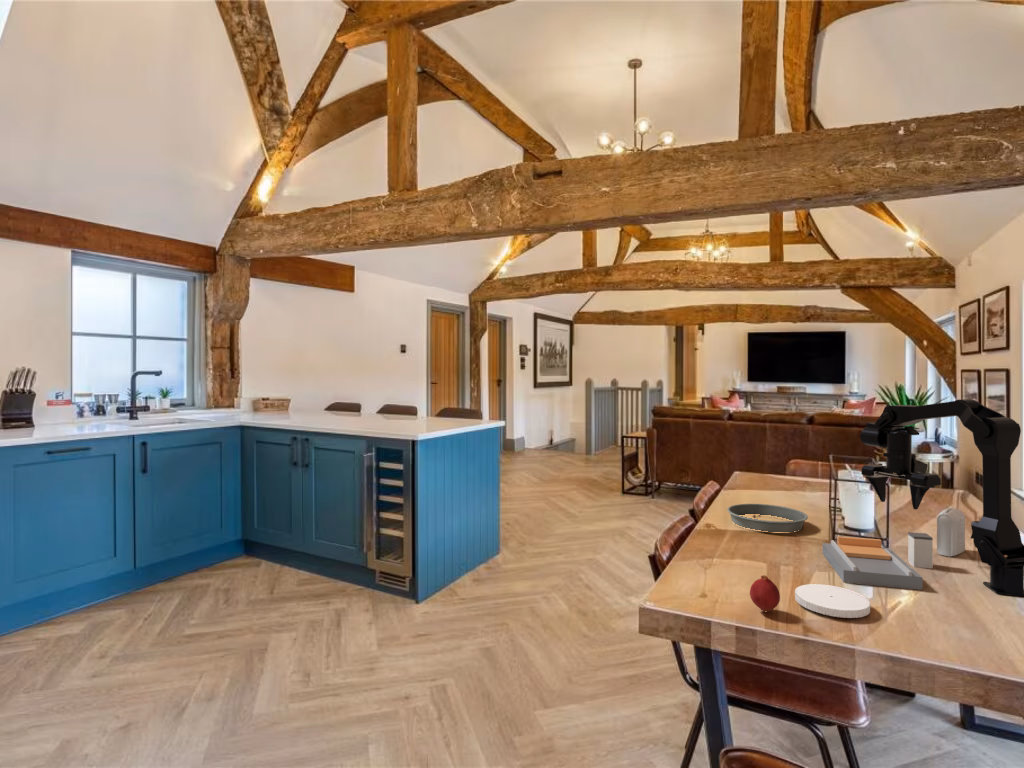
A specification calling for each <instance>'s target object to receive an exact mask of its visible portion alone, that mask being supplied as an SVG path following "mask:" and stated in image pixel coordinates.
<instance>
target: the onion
mask: <svg viewBox="0 0 1024 768" xmlns="http://www.w3.org/2000/svg"><path fill="white" fill-rule="evenodd" d="M749 597H750V599H751V601H752V603H753V604H754V605H755V606H756V607H757V608H759V610H760V611H761V610H763V611H768V612H770V611H772V610H774V609H775V608H776V607H778V605H779V603H780V601H781V594H780V590H779V588H778V587H777V585H776V584H775V583H774V582H773V581H772V580H771V579H770V578H769V577H768V576H767V575H766V574H761V576H760V578H758V579H756V580H754V581H753V583H752V584H751V586H750V589H749ZM763 611H762V612H763Z"/></svg>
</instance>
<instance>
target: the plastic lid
mask: <svg viewBox="0 0 1024 768" xmlns="http://www.w3.org/2000/svg"><path fill="white" fill-rule="evenodd" d="M794 599H795V602H796V603H798V604H799V605H800V606H801V607H803V608H805V609H807V610H810V611H813V612H816V613H819V614H822V615H824V616H825V615H826V616H830V617H836V618H844V619H845V618H847V619H852V618H853V619H855V618H856V619H858V618H863V617H866V616H868V615H870V613H871V601H870V600H869V599H868V598H867V597H866V596H865V595H862V594H860V593H858V592H856V591H853V590H850V589H848V588H843V587H841V586H836V585H829V584H822V583H821V584H820V583H816V584H815V583H813V584H812V583H811V584H810V583H808V584H807V583H806V584H802V585H800V586H797V587H796V588H795V589H794Z"/></svg>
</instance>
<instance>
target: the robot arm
mask: <svg viewBox="0 0 1024 768" xmlns="http://www.w3.org/2000/svg"><path fill="white" fill-rule="evenodd" d="M952 417H958V419H960V421H961V424H962V426H963V427H964V428H966V429H967V430H969V431H970V432H971V433H972V437H973V441H974V442H973V443H974V445H975V446H976V448H977V449H978V451H979V453H981V457H982V461H981V462H982V516H981V517H980V519H979V520H973V521H971V523H970V526H971V536H970V539H971V540H972V539H973V545H974V547H975V548H976V550H977V553H978V556H979V558H980V561H981V563H984V564H987V565H988V566H989V567H990V568H989V571H990V572H989V581H982V584H983V585H984V586H985V587H987V588H988V589H989V590H991V591H993V592H994V593H995V594H998V595H1003V596H1004V595H1006V596H1014V597H1015V596H1016V597H1024V543H1023V542H1022V536H1021V531H1020V529H1019V528H1018V526H1017V525H1016V523H1015V522H1014V520H1013V519H1012V470H1011V468H1012V467H1011V464H1012V463H1011V462H1012V459H1011V458H1012V455H1014V452H1015V451H1016V449H1017V447H1018V446H1019V443H1020V437H1021V433H1022V430H1021V426H1020V424H1019V423H1018V422H1017V421H1015V420H1014V419H1013V418H1011V417H1008V416H1007V417H1006V416H1005V415H1003V414H1002V413H1000V412H998V411H996V410H994V409H992V408H990V407H987V406H984V405H983V404H982V403H981V402H980V401H977V400H975V399H971V398H968V399H966V398H965V399H963V398H962V399H955V400H953V401H946V402H945V401H944V402H938V403H932V404H922V405H913V404H912V405H911V404H900V405H899V404H898V405H897V404H895V405H887V406H885V407H884V408H883V410H882V413H881V414H880V415H879V417H878V418H877V420H876V422H866V424H865V427H864V428H863V429H862V430H861V432H860V434H859V438H860V441H861V442H862V444H864V445H865V446H868V447H869V446H870V447H878V448H884V449H886V452H883V453H882V457H885V458H886V465H882V464H875V463H874V464H864V465H863V466H862V467H861V468H860V469H861V474H860V475H862V476H865V477H864V478H865V479H867V480H868V481H869V483H870V484H871V486H872V487H873V489H874V491H875V493H876V494H877V496H878V498H879V500H880V502H882V503H885V502H886V497H887V495H886V494H887V487H886V486H887V481H888V479H890V477H891V478H898V479H901V480H902V479H903V480H908V481H910V482H911V484H910V485H909V490H910V497H911V505H912V508H913V510H914V511H915V510H916V511H917V510H918V509H919V507H920V505H921V504H922V501H923V500H924V499H923V498H924V496H925V495H926V493H927V492H928V490H930V489H932V488H936V486H941V485H942V478H941V476H940V475H939V474H937V473H936V474H935V473H931V472H927V470H928V465H929V464H927V463H925V462H924V461H920V460H918V459H917V456H916V454H915V453H913V451H912V448H913V445H912V443H913V442H912V438H913V436H919V435H920V432H919V431H918V430H917V429H915V428H914V427H913V425H915V424H919V423H921V422H922V421H927V420H932V419H941V418H952Z"/></svg>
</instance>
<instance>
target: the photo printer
mask: <svg viewBox="0 0 1024 768" xmlns="http://www.w3.org/2000/svg"><path fill="white" fill-rule="evenodd" d="M965 551H966V516H965V514H964V512H963V511H962V510H960V509H959V508H953V507H949V508H945V509H943V510H942V511H941V512H940V513H939V514H938V515H937V519H936V552H937V554H939V555H940V556H945V557H949V558H950V557H955V556H957V555H959V554H961V553H964V552H965Z"/></svg>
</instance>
